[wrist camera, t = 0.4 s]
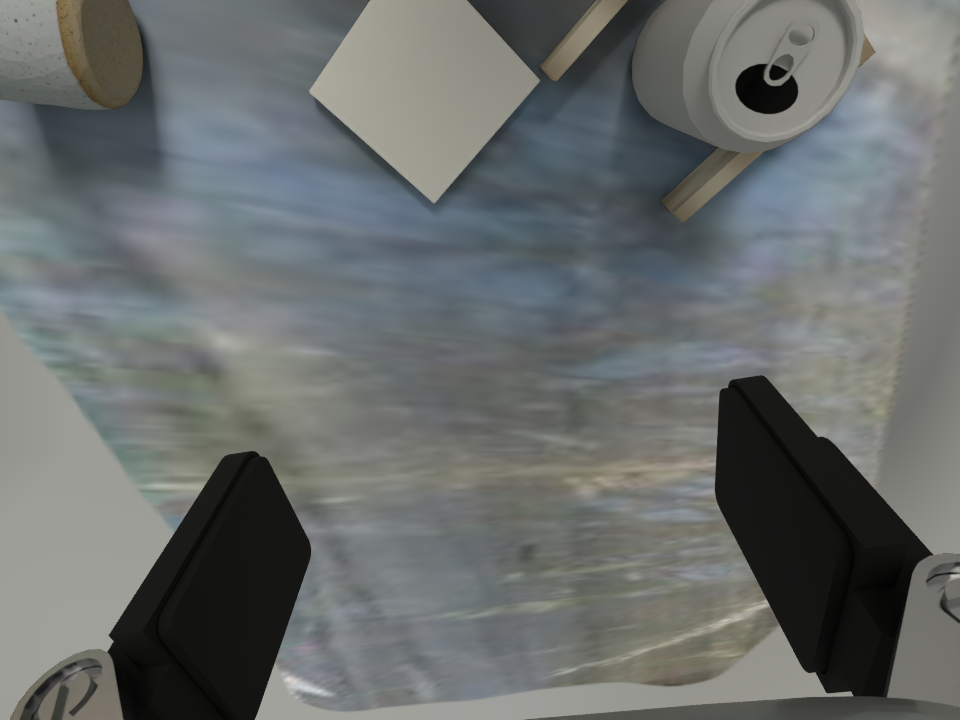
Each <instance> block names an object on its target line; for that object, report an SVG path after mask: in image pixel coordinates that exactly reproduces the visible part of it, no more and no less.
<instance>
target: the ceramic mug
mask: <svg viewBox="0 0 960 720" xmlns="http://www.w3.org/2000/svg"><path fill="white" fill-rule="evenodd" d="M142 71H143V50H142V43H141V38H140V33H139V29H138V26H137V22H136V19H135V16H134V14H133V11H132V9H131V7H130V5H129V3H128V1H127V0H0V99H2V100H9V101H17V102H25V103H34V104H43V105H55V106H62V107H69V108H76V109H84V110H111V109H116V108H120V107H123V106H125V105H126V104H128V102H129V101H130V100H131V99H132V98H133V96H134V95H135V93H136V92H137V90H138V87H139V84H140V81H141V78H142Z"/></svg>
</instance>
